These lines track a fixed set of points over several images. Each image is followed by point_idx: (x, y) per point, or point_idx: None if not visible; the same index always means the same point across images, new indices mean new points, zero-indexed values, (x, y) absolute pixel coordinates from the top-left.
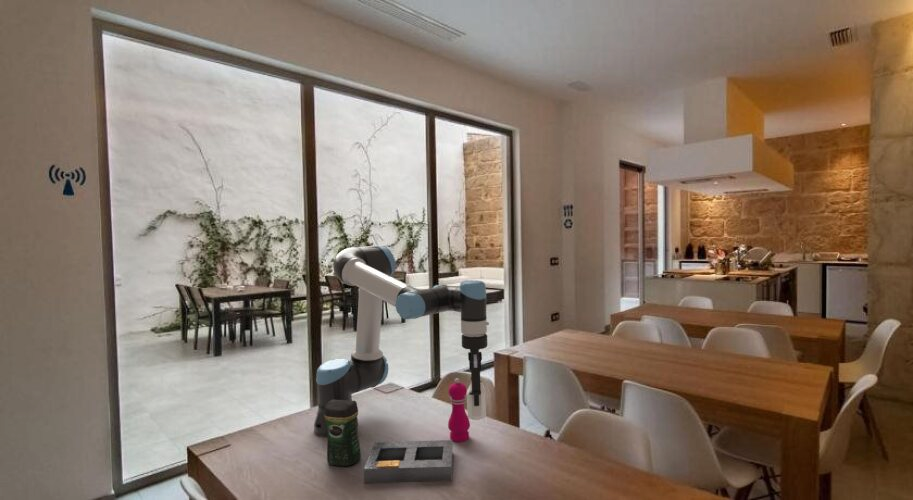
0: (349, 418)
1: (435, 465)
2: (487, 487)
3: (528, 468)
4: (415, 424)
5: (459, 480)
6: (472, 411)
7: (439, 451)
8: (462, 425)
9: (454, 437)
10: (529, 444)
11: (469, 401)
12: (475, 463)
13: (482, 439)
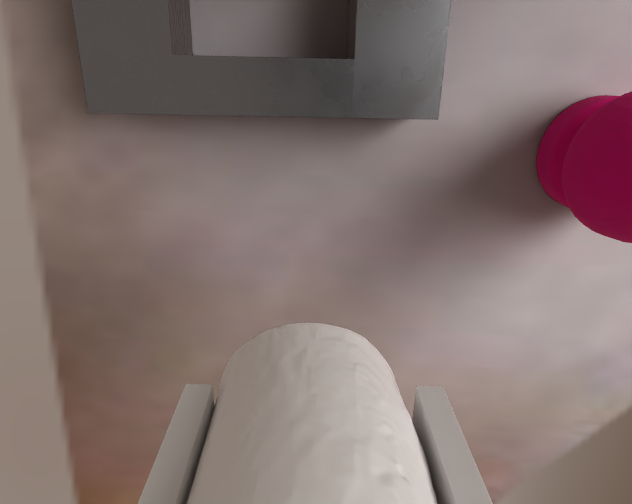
0: None
1: (92, 8)
2: (80, 274)
3: None
4: None
5: (128, 150)
6: (169, 425)
7: (352, 30)
8: (585, 197)
9: (562, 126)
10: None
11: (214, 478)
12: (290, 231)
13: (536, 275)
